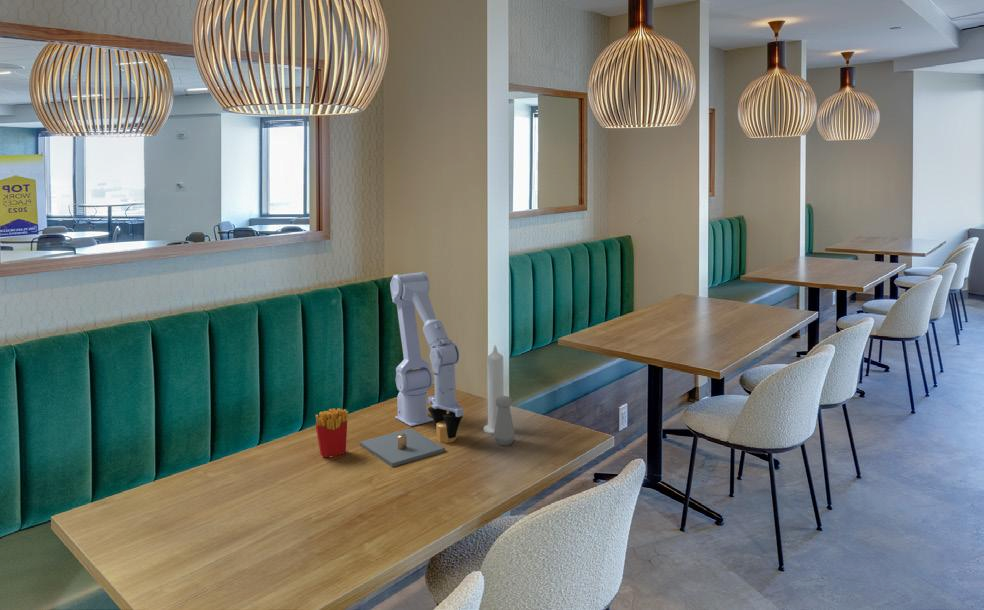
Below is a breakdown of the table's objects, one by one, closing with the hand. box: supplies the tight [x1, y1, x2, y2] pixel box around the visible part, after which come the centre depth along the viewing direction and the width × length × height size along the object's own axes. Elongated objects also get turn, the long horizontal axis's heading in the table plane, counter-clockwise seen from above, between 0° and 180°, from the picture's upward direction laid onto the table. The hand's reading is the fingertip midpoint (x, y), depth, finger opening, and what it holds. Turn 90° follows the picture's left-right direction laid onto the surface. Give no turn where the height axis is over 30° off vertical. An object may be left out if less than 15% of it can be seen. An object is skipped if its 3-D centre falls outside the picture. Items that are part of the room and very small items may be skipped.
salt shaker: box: [493, 395, 516, 446], centre depth 201 cm, size 6×6×13 cm
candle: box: [483, 344, 505, 435], centre depth 210 cm, size 7×7×25 cm
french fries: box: [314, 407, 349, 458], centre depth 195 cm, size 8×4×12 cm, turn 118°
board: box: [358, 428, 446, 468], centre depth 200 cm, size 18×16×1 cm
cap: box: [435, 421, 457, 444], centre depth 205 cm, size 5×5×4 cm
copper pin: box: [397, 434, 407, 450], centre depth 197 cm, size 2×2×4 cm
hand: (446, 434), depth 205 cm, fingers closed on cap, 5 cm apart
